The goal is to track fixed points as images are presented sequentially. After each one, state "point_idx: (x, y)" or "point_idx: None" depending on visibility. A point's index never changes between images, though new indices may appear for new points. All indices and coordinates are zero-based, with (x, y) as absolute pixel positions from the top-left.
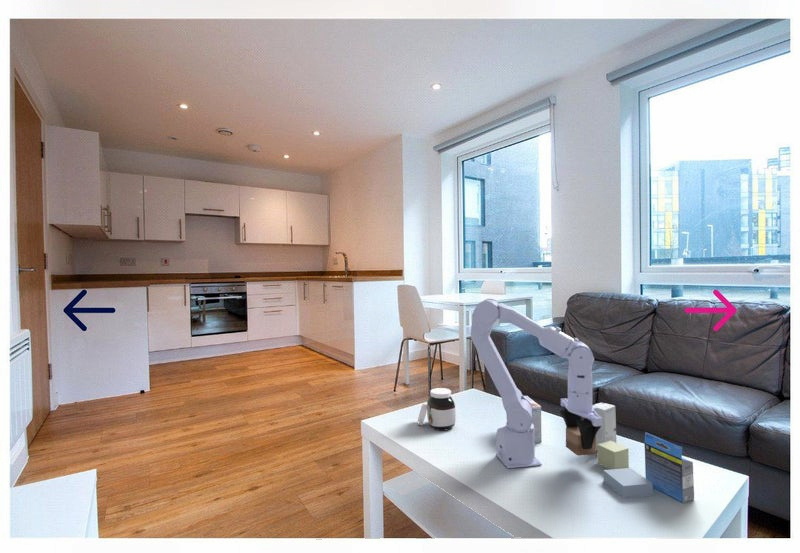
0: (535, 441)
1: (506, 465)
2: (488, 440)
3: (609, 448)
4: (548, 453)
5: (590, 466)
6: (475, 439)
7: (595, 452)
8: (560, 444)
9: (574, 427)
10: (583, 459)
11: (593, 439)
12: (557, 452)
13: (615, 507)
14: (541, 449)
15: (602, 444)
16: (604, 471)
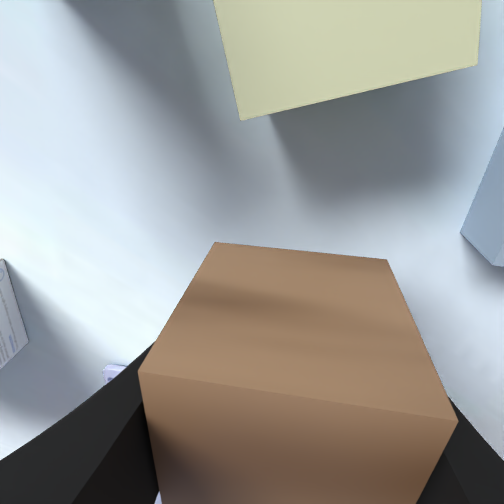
0: (6, 290)
1: None
2: (16, 416)
3: (370, 54)
4: (122, 296)
5: (293, 187)
6: (14, 440)
7: (389, 269)
8: (11, 175)
9: (165, 466)
10: (205, 168)
11: (474, 437)
12: (112, 251)
13: None
14: (81, 300)
15: (257, 64)
16: (500, 263)
